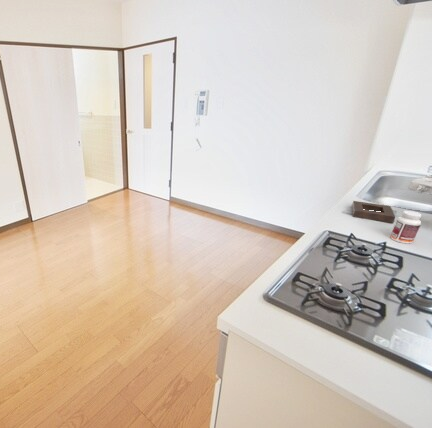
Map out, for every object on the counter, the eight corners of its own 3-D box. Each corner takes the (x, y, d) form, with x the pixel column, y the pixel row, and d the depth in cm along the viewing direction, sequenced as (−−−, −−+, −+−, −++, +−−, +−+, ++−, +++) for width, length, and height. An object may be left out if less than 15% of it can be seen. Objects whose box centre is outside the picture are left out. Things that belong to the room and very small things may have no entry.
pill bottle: (415, 241, 103) (428, 214, 99) (407, 245, 101) (420, 218, 96) (394, 234, 108) (405, 208, 104) (386, 238, 106) (397, 212, 101)
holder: (388, 212, 126) (390, 206, 124) (392, 223, 116) (395, 216, 115) (351, 206, 133) (353, 200, 131) (352, 216, 123) (354, 210, 122)
